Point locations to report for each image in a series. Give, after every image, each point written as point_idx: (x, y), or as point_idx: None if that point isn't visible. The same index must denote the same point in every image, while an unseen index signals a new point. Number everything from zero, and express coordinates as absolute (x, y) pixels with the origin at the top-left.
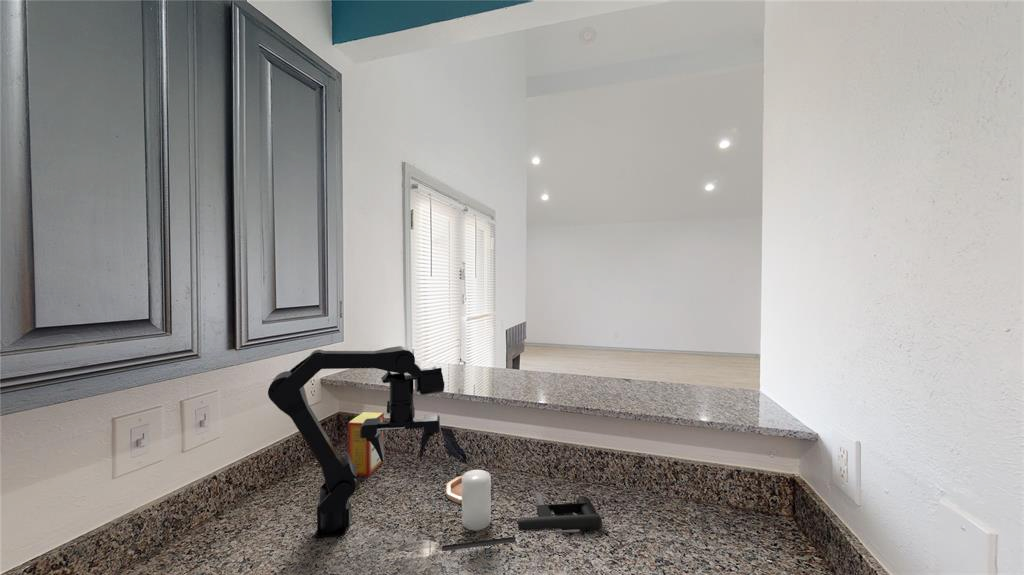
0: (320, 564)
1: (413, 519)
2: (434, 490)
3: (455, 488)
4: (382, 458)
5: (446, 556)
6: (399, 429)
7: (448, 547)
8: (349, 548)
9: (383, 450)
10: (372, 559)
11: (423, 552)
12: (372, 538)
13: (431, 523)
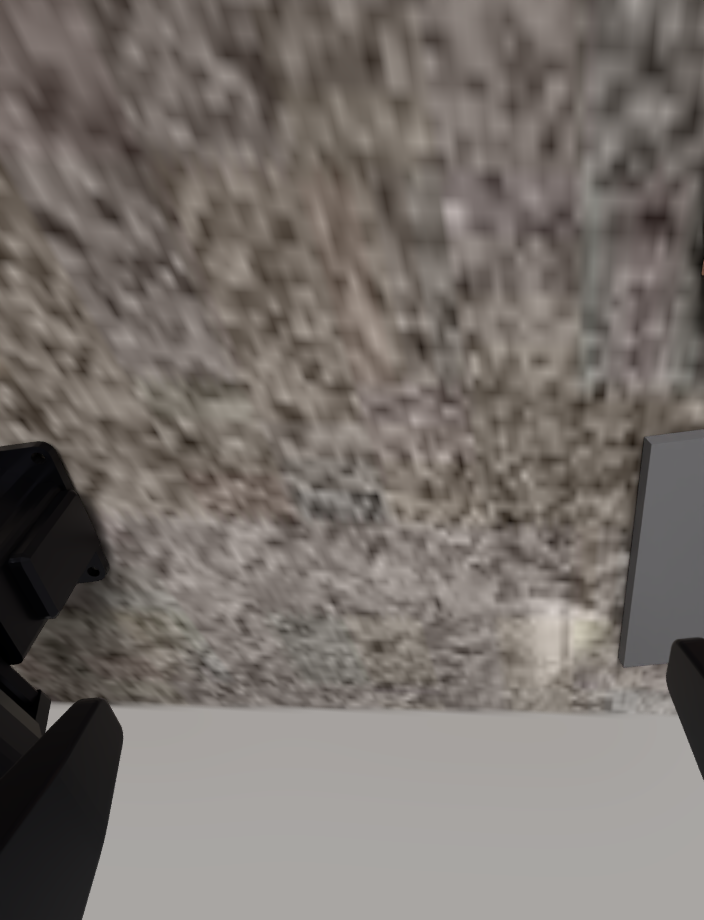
0: (120, 698)
1: (460, 461)
2: (609, 76)
3: None
4: (106, 810)
5: (634, 678)
6: None
7: (653, 663)
8: (190, 636)
9: (22, 838)
10: (322, 684)
11: (535, 660)
12: (270, 587)
13: (573, 496)
